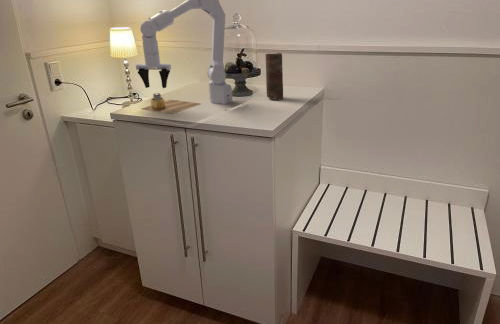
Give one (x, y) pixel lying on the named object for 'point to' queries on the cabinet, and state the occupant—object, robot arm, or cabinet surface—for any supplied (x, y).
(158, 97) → the steel piston
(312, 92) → the cabinet surface
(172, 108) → the walnut board
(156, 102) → the wooden barrel ring
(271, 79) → the candle
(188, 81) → the cabinet surface
